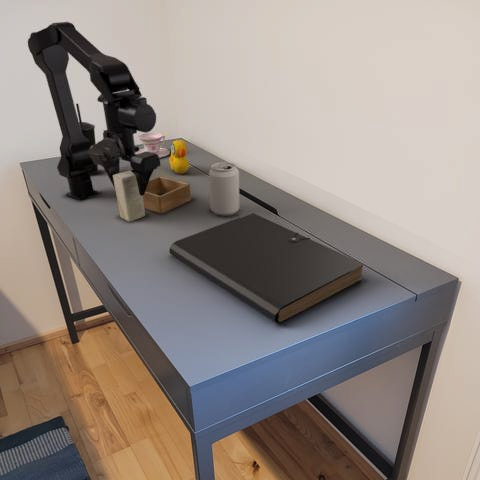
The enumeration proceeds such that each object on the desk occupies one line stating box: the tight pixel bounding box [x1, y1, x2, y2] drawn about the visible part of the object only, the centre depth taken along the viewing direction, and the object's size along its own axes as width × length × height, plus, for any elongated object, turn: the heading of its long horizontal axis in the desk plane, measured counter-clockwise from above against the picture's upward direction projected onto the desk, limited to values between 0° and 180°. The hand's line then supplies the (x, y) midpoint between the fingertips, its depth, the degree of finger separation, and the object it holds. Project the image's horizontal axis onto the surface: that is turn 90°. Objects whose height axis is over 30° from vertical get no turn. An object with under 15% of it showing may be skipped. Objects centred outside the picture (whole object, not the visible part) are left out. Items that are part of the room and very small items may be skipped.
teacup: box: [135, 132, 171, 158], centre depth 164 cm, size 12×12×6 cm
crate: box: [142, 175, 192, 215], centre depth 129 cm, size 11×11×4 cm
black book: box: [169, 212, 365, 324], centre depth 99 cm, size 33×4×24 cm
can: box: [208, 161, 240, 217], centre depth 121 cm, size 8×8×12 cm
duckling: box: [169, 139, 190, 175], centre depth 147 cm, size 11×5×10 cm, turn 22°
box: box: [113, 169, 146, 222], centre depth 119 cm, size 5×4×11 cm
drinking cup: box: [75, 103, 99, 176], centre depth 144 cm, size 8×8×20 cm
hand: (129, 191), depth 118 cm, fingers open, 9 cm apart
